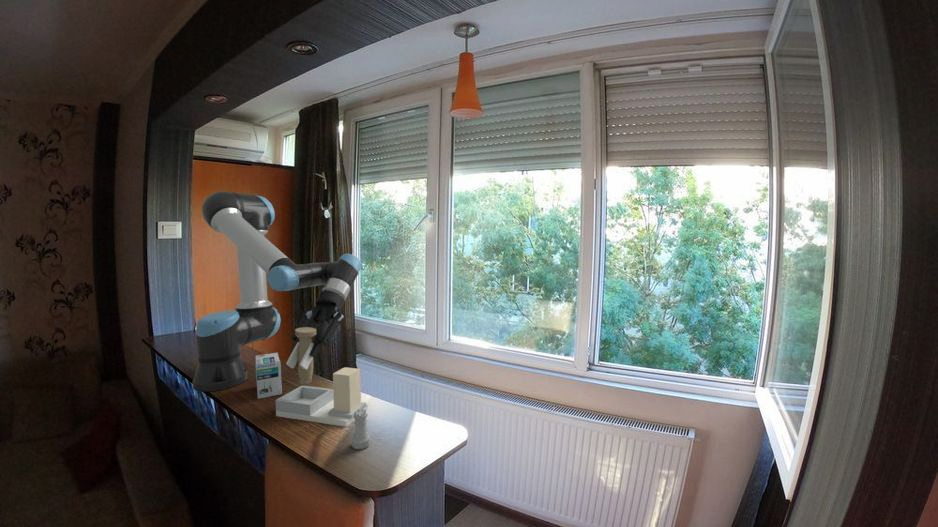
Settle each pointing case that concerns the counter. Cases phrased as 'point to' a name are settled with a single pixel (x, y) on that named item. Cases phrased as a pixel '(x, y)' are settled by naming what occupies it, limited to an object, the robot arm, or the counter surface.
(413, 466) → the counter surface
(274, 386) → the light bulb box
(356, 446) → the rook chess piece
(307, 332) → the beige tall capped post
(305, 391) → the white tray base
